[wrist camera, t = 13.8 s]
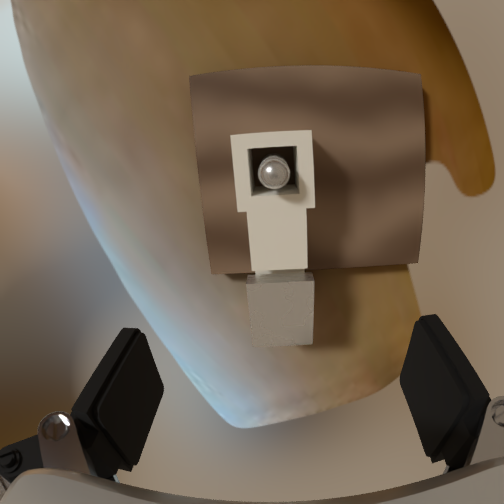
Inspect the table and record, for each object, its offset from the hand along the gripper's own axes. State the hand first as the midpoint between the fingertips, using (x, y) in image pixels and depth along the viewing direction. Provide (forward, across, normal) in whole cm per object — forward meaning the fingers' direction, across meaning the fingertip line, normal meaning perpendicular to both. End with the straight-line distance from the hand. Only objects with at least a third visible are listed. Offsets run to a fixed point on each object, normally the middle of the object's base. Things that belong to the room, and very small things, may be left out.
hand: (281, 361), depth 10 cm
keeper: (+18, 0, +7) cm, 19 cm away
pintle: (+16, 0, -4) cm, 17 cm away
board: (+18, -4, -4) cm, 18 cm away
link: (+16, 0, -1) cm, 16 cm away
